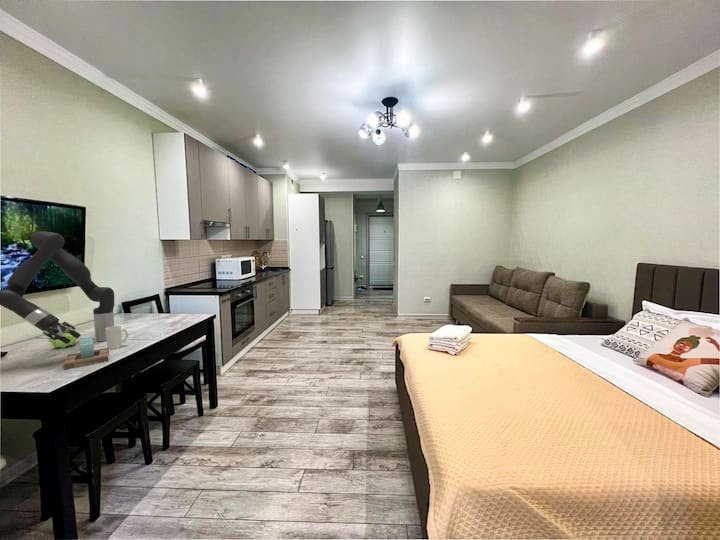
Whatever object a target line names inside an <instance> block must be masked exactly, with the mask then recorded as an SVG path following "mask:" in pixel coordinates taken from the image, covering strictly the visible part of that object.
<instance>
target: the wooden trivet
mask: <svg viewBox="0 0 720 540" xmlns="http://www.w3.org/2000/svg"><path fill="white" fill-rule="evenodd" d="M93 351H94V357H92V358H86V359H81V352H76V353H75V352H74V353H70V354H67V355H66V358H65V359H64V362H63V367H62V368H63V371H65V370H70V368H71V369H76V368H81V367H85V365H86V366H90V365H89V364H92V365H95V364H94V363H97V364H100V363H99V362H102V363H105V362H104V361H107V362H109V358H108V356H109V357H110V355H109V354H110V349H109V348H107V347H105V348H104V347H103V348H97V349H93ZM97 355H99V356H97ZM77 359H78V360H77ZM80 366H81V367H80ZM75 367H76V368H75Z"/></svg>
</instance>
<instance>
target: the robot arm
mask: <svg viewBox="0 0 720 540" xmlns="http://www.w3.org/2000/svg"><path fill="white" fill-rule="evenodd" d="M30 241H31V243H32V245H33V246H34V247H35V248H37V251H36V252H35V253H34V254H32V256H30V257H29V258H28V259H27V260H25V261H23V262H22V263H21V264H20V265H19V266H17V267H16V269H15V270H14V271H13V272H12V274H11V275H10V277H9V278H8V279H7V285H6V287H5V289H0V306H2V307H3V308H5V309H7V310H9V311H12V312H13V313H14V314H16V315H18V317H20V318H22V319H24V320H25V321H26V322H28V323H29V324H30V325H32V326H34V328H37V329H39V330H40V331H42V334H43V335H45V336H46V337H48V338H49V339H52V340H53V341H54V340H56V339H57V340H60V341H62V342H64V343H65V344H68V343H69V342H70V341H71V340H70V339H68V338H67V337H65V336H63V335H62V333H68V334H70V335H72V336H74V337H75V338H76V339H79V338H80V337H81V333H80V332H79V333H77V332H78V331H76V329H77V328H76V327H75V326H73V325H72V324H70V323H68V322H66V321H63V322H62V323H61V322H59V321H60V318H58V317H57V316H55V315H53V314H52V313H50V312H49V311H47V310H45V309H43V308H41V307H40V306H38V305H37V304H35V303H33V302H31V301H28V300H27V299H26V298H23V297H24V295H25V293H26V292H27V288H28V286H29V285H30V284H31V282H33V280H34V279H35V277H36V276H37V274H38V273H39V271H40V270H41V269H42V268H43V267H44V266H45V265H46V264H47V263H48V262H49V261H50V260H51V261H53V263H54V264H55V265H56V266H57V267H58V268H59V269H60V270H61V271H63V273H64V274H65V275H66V276H68V278H70V279H71V281H73V282H74V283H75V284H76V285H77V286H78V287H79V288H80V290H82V292H83V293H84V294H85V296H86V297H87V298H88V299H89V300H90V301H92V302H95V303H99V306H98V307H95V308H93V310H92V311H93V312H92V313H93V324H94V337H95V338H94V339H95V340H94V341H95V342H105V341H106V342H107V339H106V328H108V327H112V326H115V317H114V309H115V292H114V290H113V288H111V287H105V286H98V285H97V284H96V283H95V282H94V281H93V280H92V278H91V276H92V275H91V271H90V269H89V268H88V267H87V265H85V263H84V262H82V261H81V260H80V259H78V257H75V255H72V254H70V253H69V252H67V251H66V250H65V249H63V248H62V247H63V246H64V244H65V238H64V236H62V235H61V234H60V233H57V232H51V231H44V230H43V231H42V230H41V231H36V232H33V233H32V235H31V237H30Z"/></svg>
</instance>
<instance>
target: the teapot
mask: <svg viewBox="0 0 720 540" xmlns="http://www.w3.org/2000/svg"><path fill="white" fill-rule="evenodd" d="M76 332H77V333H79V334H80V332H78V331H76ZM62 335H63V336H65V337H67V338H68V339H70V340H71V341H70V342H69V343H68V344H65V343H64V342H62V341H60V340H57V339H56V340H52V339H51V338H49V339H48V340H47V342H49V343H50V344H52V346H53V347H55V348H56V347H59V348H61V349H66V348H65V347H68V346H70V345H73V346H74V344H75V343H76V342H77V338H75V337H74V336H72V335H70V334H68V333H62Z"/></svg>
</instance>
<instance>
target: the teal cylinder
mask: <svg viewBox="0 0 720 540" xmlns="http://www.w3.org/2000/svg"><path fill="white" fill-rule="evenodd" d="M79 350H80V352H81V359H86V358H92V357H95V356H94V351H93V350H94V340H93V338H92V337H91V338H90V337H88V338H83V339H80V340H79ZM80 352H79V353H80ZM81 359H80V360H81Z"/></svg>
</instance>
